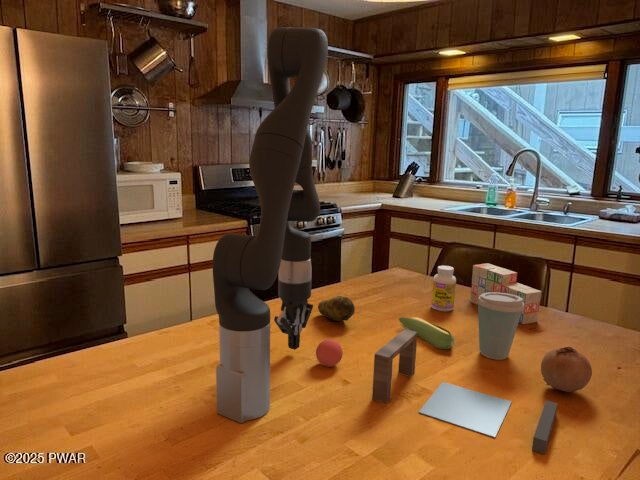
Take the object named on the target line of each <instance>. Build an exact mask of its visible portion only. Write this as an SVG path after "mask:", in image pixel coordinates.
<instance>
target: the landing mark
mask: <svg viewBox="0 0 640 480" xmlns="http://www.w3.org/2000/svg"><path fill="white" fill-rule="evenodd" d="M512 403H513V402H512V401H510V400H507V399H504V398H500V397H496V396H493V395H489V394H487V393H483V392H480V391H476V390H472V389H469V388H465V387H462V386H460V385H459V386H458V385H455V384H452V383H448V382H445V381H442V382H441V383H440V384H439V386H437V388H436V389H435V391H434V392H433V393H432V395H431V396H430V397H429V398H428V399H427V401H426V402H425V404H424V405H423V406H422V407H421V408H420V410H419V411H418V414H420V415H425V416H427V417H430V418H433V419H436V420H439V421H442V422H445V423H449V424H452V425H454V426H457V427H460V428H463V429H465V430H470V431H472V432H476V433H479V434H481V435H484V436H488V437H490V438H494V439H496V437H497V435H498V433H499V430H500V428H501V427H502V425H503V422H504V421H505V418H506V416H507V414H508V412H509V409H510V407H511V405H512Z"/></svg>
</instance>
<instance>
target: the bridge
mask: <svg viewBox="0 0 640 480" xmlns="http://www.w3.org/2000/svg"><path fill="white" fill-rule="evenodd" d="M417 333H418V332H415V331H411V330H408V329H406V328H404V329H403V330H401V331H400V332H399V333H398V334H396V336H394V337H393V338H392V339H390V340H389V341H388V342H386V343H385V344H384V345H383V346H382V347H380V348H379V349H378V350H377V351H376V352H375V353H374V356H373V357H374V360H373V376H372V395H371V399H372V400H374V401H377V402H380V403H383V404H388V402H389V401H390V400H391V392H392V376H393V363H394V362H393V360H394V359H395V358H396V357H397V356H398V355H399V359H398V373H397V374H400V375H402V376H407V377H410V378H412V377H413V376H414V374H415V371H416V360H417V359H416V357H417V345H418V344H417V343H418V335H417Z"/></svg>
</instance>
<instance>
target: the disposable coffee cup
mask: <svg viewBox="0 0 640 480" xmlns="http://www.w3.org/2000/svg"><path fill="white" fill-rule="evenodd" d="M522 300H523V298H521V297H519V296H516V295H512V294H507V293H499V292H487V293H483V294H481V295H480V296H479V298H478V301H477V303H478V305H477V317H478V318H477V319H478V320H477V321H478V344H479V345H478V347H479V348H478V349H479V351H480V354H481V355H482V356H484V357H486V358H488V359H492V360H498V361H500V360H501V361H502V360H505V359H507V358H508V356H510V355H509V354H510V351H511V348H512V345H513V341H514V339H515V335H516V333H517V329H518V326H519V324H520V323H519V319H520V316H521V313H522V311H523V310H524V302H522Z"/></svg>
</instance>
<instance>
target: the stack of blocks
mask: <svg viewBox="0 0 640 480" xmlns="http://www.w3.org/2000/svg"><path fill="white" fill-rule="evenodd" d="M470 289H471V290H470V291H471V292H470V299H469V301H470V302H471V303H474V304H476V305H477V306H478V303H477V301H478V298H479V296H480V295H481V294H483V293H487V292H499V293H507V294H512V295H516V296H519V297H521V298H523V300H522V302H524V310H523V311H522V313H521V316H520V319H519V323H518V324H520V325H525V324H526V325H527V324H532V323H533V324H534V323H537V322H538V320H539V311H540V303H541V300H542V299H541V298H542V290H539V289H536V288H533V287H531V286H528V285H524V284H522V283H519V282H518V272H516V271H513V270H511V269H507V268H504V267H500V266H497V265H494V264H493V263H492V264H491V263H481V264H480V263H479V264H473V265H472V277H471V288H470Z"/></svg>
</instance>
